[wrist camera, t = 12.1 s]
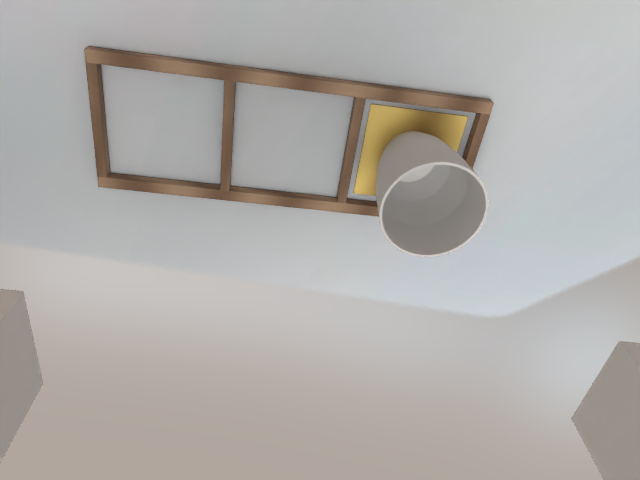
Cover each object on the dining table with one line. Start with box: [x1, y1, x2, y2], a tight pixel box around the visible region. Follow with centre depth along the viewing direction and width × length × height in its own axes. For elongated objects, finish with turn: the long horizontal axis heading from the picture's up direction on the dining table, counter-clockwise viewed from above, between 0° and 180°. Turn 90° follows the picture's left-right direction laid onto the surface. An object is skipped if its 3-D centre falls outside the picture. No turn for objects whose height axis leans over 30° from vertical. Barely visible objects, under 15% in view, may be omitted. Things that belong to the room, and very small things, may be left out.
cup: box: [376, 131, 489, 257], centre depth 42 cm, size 8×8×10 cm
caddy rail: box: [84, 46, 494, 216], centre depth 45 cm, size 33×12×1 cm, turn 82°
